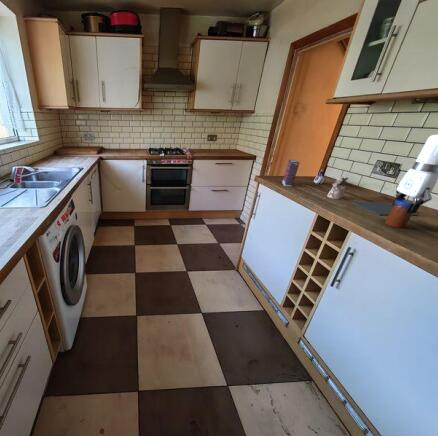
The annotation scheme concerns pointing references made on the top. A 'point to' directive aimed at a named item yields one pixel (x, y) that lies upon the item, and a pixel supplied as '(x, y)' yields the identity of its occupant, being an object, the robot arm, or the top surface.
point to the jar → (398, 217)
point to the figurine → (338, 189)
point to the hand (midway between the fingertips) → (403, 208)
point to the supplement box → (290, 172)
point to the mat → (377, 207)
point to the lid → (403, 202)
